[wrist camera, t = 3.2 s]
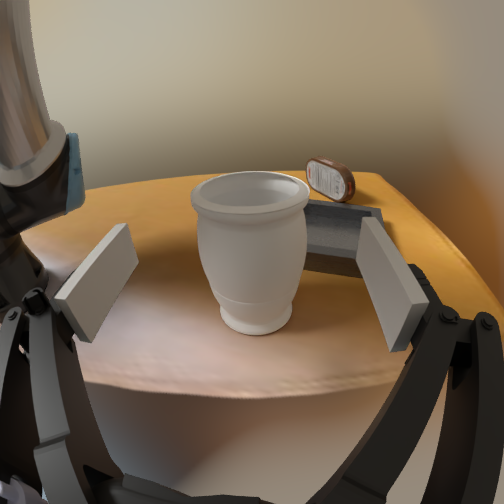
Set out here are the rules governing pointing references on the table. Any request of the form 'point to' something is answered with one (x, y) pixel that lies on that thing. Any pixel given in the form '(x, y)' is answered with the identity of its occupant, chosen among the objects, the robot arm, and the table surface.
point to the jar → (252, 245)
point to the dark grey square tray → (335, 236)
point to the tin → (330, 178)
